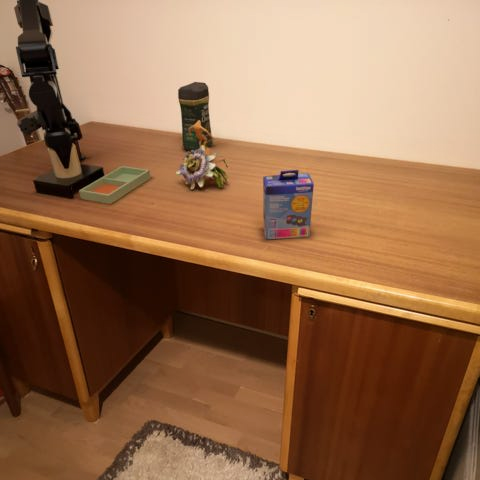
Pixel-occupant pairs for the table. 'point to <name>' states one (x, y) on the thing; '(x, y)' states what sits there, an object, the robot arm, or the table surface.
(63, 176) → the cup
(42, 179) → the flat black slab base
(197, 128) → the figurine
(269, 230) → the ink cartridge box
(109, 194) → the tray
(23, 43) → the robot arm
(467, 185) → the table surface
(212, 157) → the passion flower
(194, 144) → the coffee jar
